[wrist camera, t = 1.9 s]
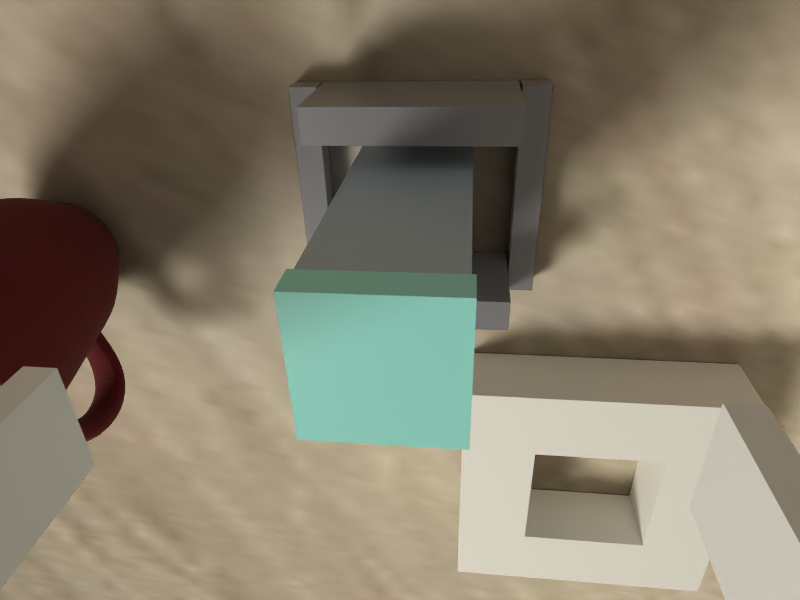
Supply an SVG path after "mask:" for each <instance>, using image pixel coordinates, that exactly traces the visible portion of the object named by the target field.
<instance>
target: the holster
mask: <svg viewBox="0 0 800 600" xmlns="http://www.w3.org/2000/svg"><path fill="white" fill-rule="evenodd" d="M288 88H289V96H290V104H291V113H292V121H293V129H294V138H295V146H296V154H297V163H298V171H299V179H300V188H301V196H302V204H303V212H304V221H305V229H306V237H307V244H308V243H309V241H310V239H311V237H312V236H313V234H314V232H315V230H316V228H317V227H318V225H319V223H320V221H321V219H322V218H323V216H324V214H325V212H326V211H327V209H328V207H329V205H330V203H331V202H332V200H333V193H332V182H331V171H330V160H329V150H328V146H467V147H516V155H515V168H514V182H513V195H512V208H511V221H510V235H509V248H508V261H506V252H472V274H477V302H476V323H475V329H485V330H508V327H509V315H510V303H511V302H510V292H509V290H532V286H533V277H534V267H535V257H536V248H537V238H538V228H539V218H540V209H541V199H542V189H543V180H544V170H545V160H546V150H547V141H548V131H549V121H550V112H551V102H552V92H553V85H552V83H551V81H550V80H521V87H520V84H519V81H518V80H474V81H329V82H324V83H323V84H322V82H295V83H293V84H292V85H291V86H290V87H288Z"/></svg>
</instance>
